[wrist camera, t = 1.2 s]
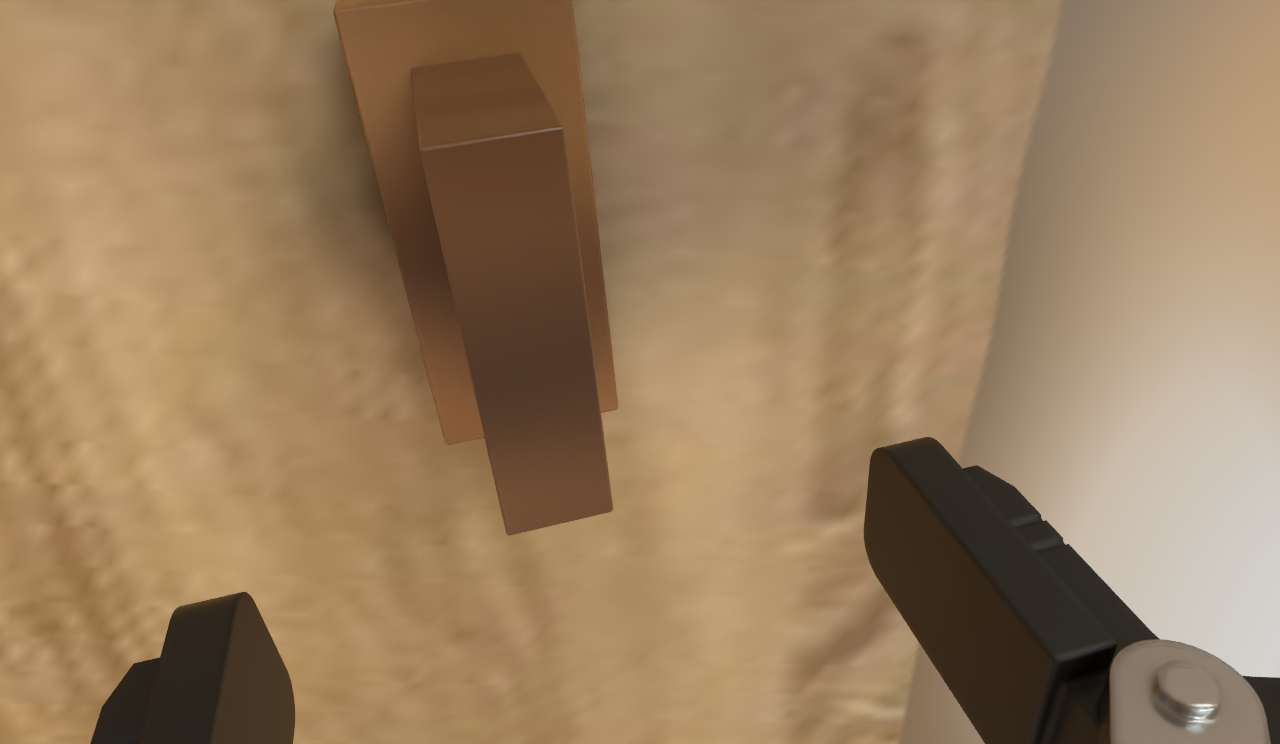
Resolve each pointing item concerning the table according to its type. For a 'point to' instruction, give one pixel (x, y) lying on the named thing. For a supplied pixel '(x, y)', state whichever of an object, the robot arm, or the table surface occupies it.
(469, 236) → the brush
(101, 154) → the table surface
